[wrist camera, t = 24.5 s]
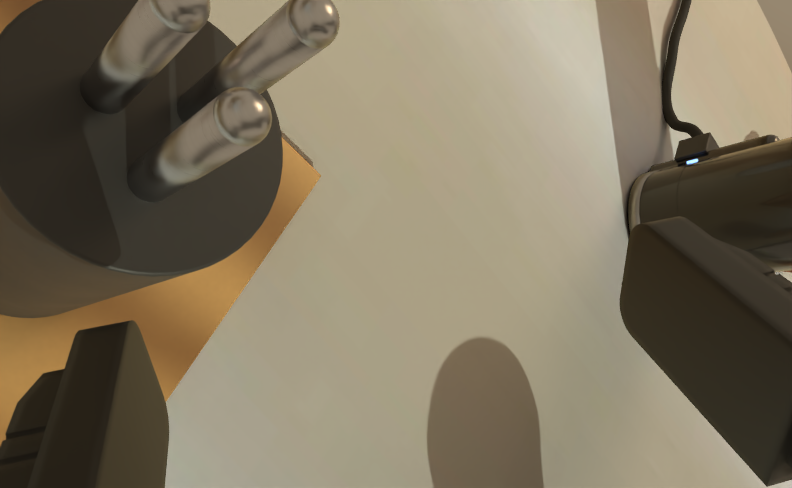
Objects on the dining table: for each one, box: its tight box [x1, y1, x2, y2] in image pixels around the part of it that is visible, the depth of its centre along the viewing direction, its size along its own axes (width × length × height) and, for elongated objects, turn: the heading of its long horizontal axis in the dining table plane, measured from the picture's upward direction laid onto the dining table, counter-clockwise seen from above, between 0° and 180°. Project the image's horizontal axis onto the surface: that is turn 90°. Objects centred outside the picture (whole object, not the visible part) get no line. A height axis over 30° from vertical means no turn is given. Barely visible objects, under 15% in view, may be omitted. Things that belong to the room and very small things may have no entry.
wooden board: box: [0, 0, 321, 446], centre depth 22 cm, size 20×15×1 cm
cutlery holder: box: [0, 0, 340, 318], centre depth 15 cm, size 6×6×17 cm
